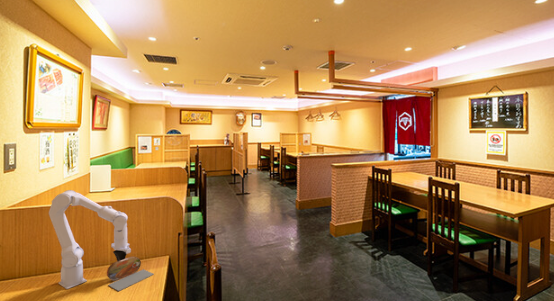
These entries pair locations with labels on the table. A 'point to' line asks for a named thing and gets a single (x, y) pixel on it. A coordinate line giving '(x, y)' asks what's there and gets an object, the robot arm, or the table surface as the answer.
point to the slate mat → (130, 280)
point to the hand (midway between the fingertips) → (121, 263)
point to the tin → (123, 268)
